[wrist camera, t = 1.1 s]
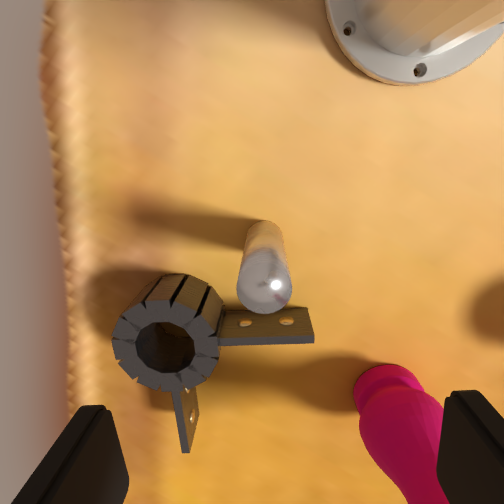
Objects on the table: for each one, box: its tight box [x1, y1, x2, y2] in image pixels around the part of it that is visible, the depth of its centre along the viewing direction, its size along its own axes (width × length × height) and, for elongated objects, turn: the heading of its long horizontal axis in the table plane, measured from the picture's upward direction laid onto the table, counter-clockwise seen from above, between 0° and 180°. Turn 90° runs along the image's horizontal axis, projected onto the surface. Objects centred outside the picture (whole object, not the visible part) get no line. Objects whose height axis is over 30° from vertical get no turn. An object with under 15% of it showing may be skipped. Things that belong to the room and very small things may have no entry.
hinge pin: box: [237, 221, 292, 314], centre depth 22 cm, size 3×3×10 cm
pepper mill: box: [353, 365, 450, 504], centre depth 22 cm, size 7×7×20 cm
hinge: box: [111, 274, 314, 453], centre depth 28 cm, size 16×16×5 cm
